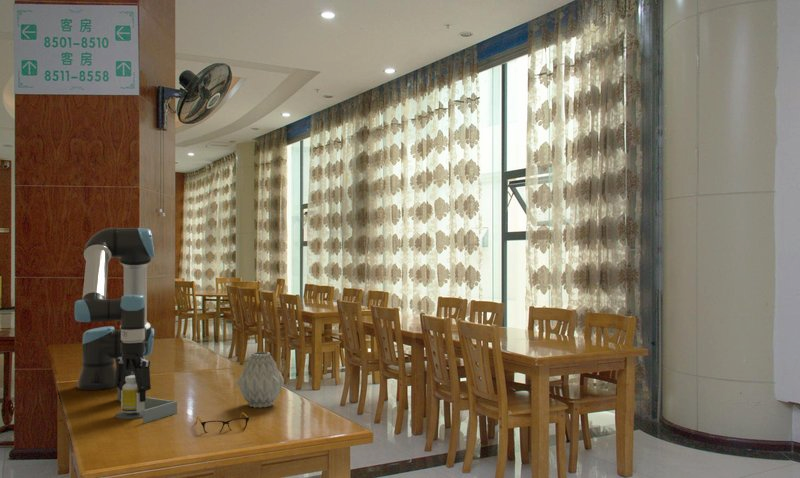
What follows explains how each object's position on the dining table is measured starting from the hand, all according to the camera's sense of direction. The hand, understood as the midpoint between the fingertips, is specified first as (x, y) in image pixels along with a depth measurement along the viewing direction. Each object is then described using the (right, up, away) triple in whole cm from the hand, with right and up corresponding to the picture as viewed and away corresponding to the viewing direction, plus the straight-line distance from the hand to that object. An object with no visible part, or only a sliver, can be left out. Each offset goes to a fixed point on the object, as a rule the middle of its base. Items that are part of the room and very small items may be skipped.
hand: (132, 410), depth 226 cm
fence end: (+11, -2, -4) cm, 11 cm away
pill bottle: (0, -1, 0) cm, 1 cm away
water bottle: (-9, -2, +22) cm, 24 cm away
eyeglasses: (+33, -2, -13) cm, 36 cm away
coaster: (0, -2, 0) cm, 2 cm away
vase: (+40, -2, +13) cm, 42 cm away
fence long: (+4, -2, +7) cm, 8 cm away
